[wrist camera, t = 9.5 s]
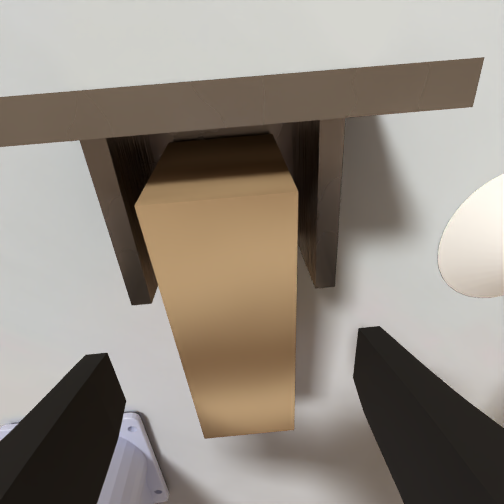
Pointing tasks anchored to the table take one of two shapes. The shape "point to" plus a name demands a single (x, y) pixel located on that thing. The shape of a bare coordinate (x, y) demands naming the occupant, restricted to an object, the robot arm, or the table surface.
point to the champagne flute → (476, 244)
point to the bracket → (231, 125)
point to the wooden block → (228, 276)
